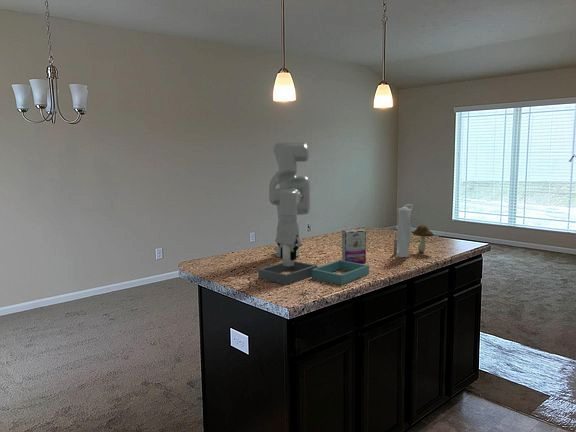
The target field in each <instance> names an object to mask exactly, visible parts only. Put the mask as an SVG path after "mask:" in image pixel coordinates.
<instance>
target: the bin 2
mask: <svg viewBox="0 0 576 432" xmlns="http://www.w3.org/2000/svg"><path fill="white" fill-rule="evenodd" d="M340 270H342V271H347V272H344V273H341V274H339V273H336V271H340ZM369 274H370V265H369V264H365V263H353V262H347V261H342V259H339V260H336V261H333V262H330V263H327V264H324V265H321V266H317V268H314V269H312V276H311V279H313V280H318V281H323V282H326V283H332V284H337V285H340V286H342V285H345V284H348V283H351V282H353V281H356V280H358V279H360V278H363V277H365V276H368V275H369Z"/></svg>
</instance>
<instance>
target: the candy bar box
mask: <svg viewBox="0 0 576 432" xmlns="http://www.w3.org/2000/svg"><path fill="white" fill-rule="evenodd" d="M366 249H367V231H366V230H365V229H363V228H360V229H346V230H345V229H343V230H342V231H341V260H342V261H347V262H353V263H358V264H365V263H366V261H367V259H366V258H367V256H366V255H367V254H366V253H367V250H366Z"/></svg>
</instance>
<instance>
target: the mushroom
mask: <svg viewBox="0 0 576 432" xmlns="http://www.w3.org/2000/svg"><path fill="white" fill-rule="evenodd" d="M412 235H414V236H417V237H420V241H419V245H418V246H417V247H418V248H417V250H418V252H419V253H424V252H425V251H426V238H427V237H433V236H434V233H433V232H432V231H430V230H429V228H428V227H427V226H425V225H423V224H422V225H419V226H417V228H416V229H414V231H412Z"/></svg>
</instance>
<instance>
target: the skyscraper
mask: <svg viewBox="0 0 576 432" xmlns="http://www.w3.org/2000/svg"><path fill="white" fill-rule="evenodd" d="M407 206H411V208H409V207H407ZM413 208H414V204H411V203H408V204H405V205H404V206H403V207H398V208H397V212H398V213H397V214H398V223H397V227H396V228H397V229H396V234H395V235H394V236H395V237H394V245H393V254H392V255H393V256H394V257H395V258H396V257H397V258H400V259H401V257H402V258H403V257H410V258H411V256H410V254H409V251H410V245H411V241H412V223H411V219H410V218H411V216H412V212H413ZM403 259H404V258H403Z"/></svg>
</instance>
